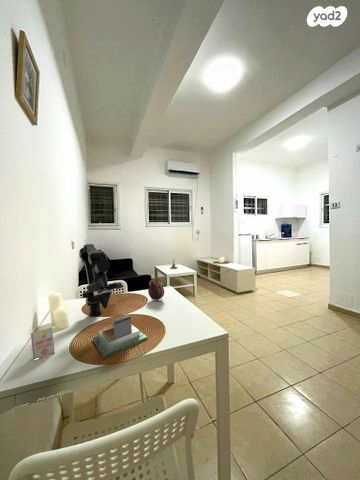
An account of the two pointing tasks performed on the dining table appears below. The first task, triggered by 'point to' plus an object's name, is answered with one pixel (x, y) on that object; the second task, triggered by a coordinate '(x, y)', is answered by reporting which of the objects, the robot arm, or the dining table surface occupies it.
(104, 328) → the tan square pad
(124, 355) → the dining table surface
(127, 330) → the grey and green stand
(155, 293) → the brown rounded piece
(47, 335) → the pink printed box
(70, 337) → the dining table surface
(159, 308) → the dining table surface
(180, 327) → the dining table surface
